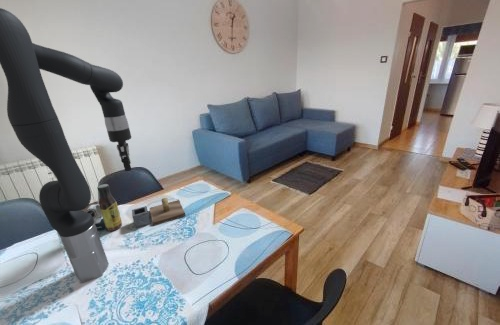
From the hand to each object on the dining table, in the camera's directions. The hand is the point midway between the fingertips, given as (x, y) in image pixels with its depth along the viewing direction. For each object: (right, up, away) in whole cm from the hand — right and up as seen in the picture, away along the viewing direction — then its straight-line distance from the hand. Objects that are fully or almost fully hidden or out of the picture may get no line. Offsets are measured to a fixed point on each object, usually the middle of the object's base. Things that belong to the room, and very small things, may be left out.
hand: (128, 167), depth 94 cm
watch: (-16, -27, +8) cm, 32 cm away
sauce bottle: (-10, -27, +8) cm, 29 cm away
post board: (+10, -22, +16) cm, 29 cm away
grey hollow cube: (+1, -25, +10) cm, 27 cm away
